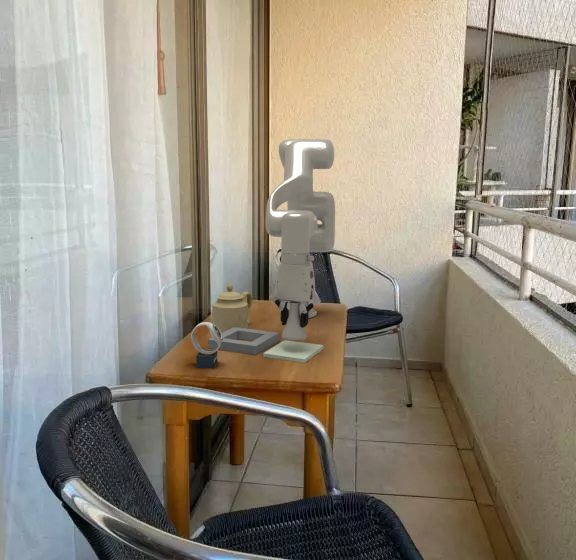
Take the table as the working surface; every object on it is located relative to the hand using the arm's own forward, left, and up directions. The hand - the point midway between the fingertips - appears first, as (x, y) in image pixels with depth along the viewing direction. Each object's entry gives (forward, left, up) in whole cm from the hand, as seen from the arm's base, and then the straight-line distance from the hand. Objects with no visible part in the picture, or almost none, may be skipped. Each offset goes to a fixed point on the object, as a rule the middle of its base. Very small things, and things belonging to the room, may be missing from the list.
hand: (294, 324), depth 161 cm
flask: (0, 0, -4) cm, 4 cm away
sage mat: (0, 0, -8) cm, 8 cm away
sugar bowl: (-15, -28, -8) cm, 33 cm away
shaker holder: (-1, -16, -8) cm, 18 cm away
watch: (+19, -16, -8) cm, 26 cm away
